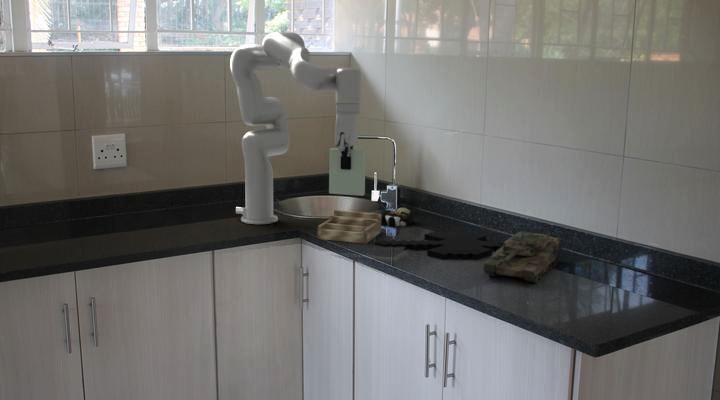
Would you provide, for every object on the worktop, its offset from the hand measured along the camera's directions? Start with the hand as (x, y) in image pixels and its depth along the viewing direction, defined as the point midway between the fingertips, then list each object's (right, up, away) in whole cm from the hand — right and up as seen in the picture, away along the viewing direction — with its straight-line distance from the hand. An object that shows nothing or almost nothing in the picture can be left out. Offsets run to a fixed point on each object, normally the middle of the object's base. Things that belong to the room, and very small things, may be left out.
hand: (347, 168), depth 252 cm
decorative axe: (+30, -25, -1) cm, 39 cm away
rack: (+1, -22, +8) cm, 24 cm away
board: (0, -8, +2) cm, 8 cm away
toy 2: (+48, -30, -27) cm, 63 cm away
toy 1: (+16, -19, +28) cm, 37 cm away
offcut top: (+1, -18, +7) cm, 20 cm away
